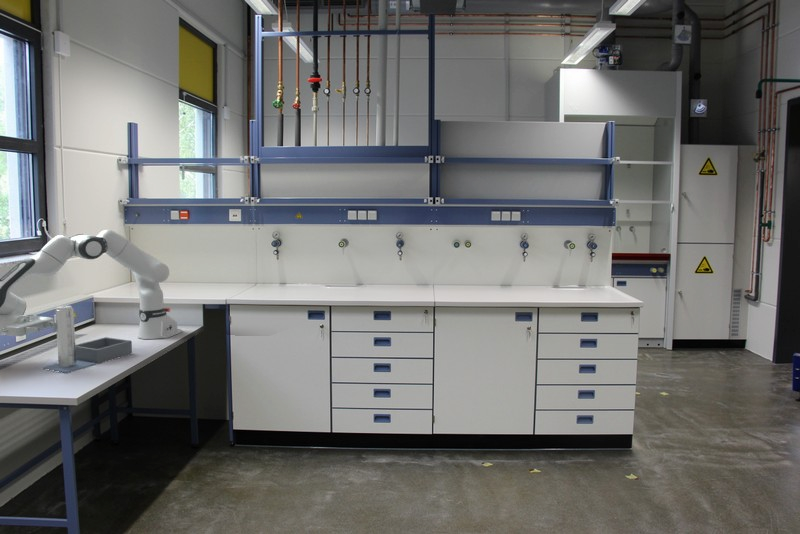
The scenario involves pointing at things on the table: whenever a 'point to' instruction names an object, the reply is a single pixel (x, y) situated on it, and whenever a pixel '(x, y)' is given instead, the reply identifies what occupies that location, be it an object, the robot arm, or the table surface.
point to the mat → (65, 370)
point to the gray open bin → (103, 350)
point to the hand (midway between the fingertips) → (47, 327)
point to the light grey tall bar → (65, 336)
